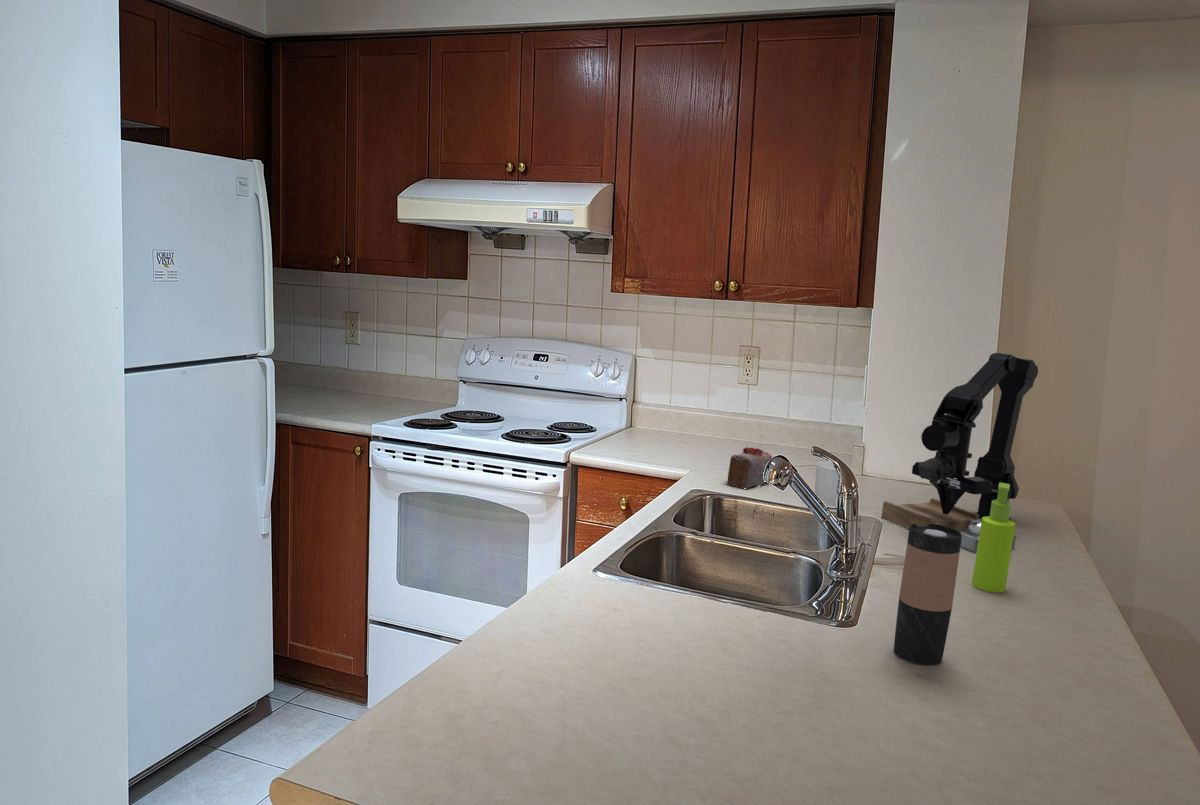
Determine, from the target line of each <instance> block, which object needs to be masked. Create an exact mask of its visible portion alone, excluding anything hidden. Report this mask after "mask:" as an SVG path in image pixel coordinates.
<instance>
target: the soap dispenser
mask: <svg viewBox="0 0 1200 805" xmlns="http://www.w3.org/2000/svg"><path fill="white" fill-rule="evenodd" d="M1009 488H1010V484H1007V483H1001V482H999V486H998V497H997V499H996V500H994V501H992V503H991V510H990V516H986V517H982V518H981V520H980V521H981V527H980V534H979V540H978V547H977V553H975V562H974V568H973V574H972V581H971V585H972V586H973V587H974V588H976V589H978V590H980V591H984V592H989V593H995V594H996V593H1004V592H1005V591H1006V587H1007V586H1006V585H1007V579H1008V574H1009V567H1010V562H1011V561H1010V560H1011V555H1012V550H1013V549H1012V544H1013V537H1014V535H1015V530H1016V522H1015V521H1012V519H1011V520H1009V518H1010V516H1011V515H1010V514H1011V509H1012V504H1011V503H1010V502H1008V501H1007V497H1008V491H1009Z"/></svg>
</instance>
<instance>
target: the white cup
mask: <svg viewBox="0 0 1200 805" xmlns="http://www.w3.org/2000/svg"><path fill="white" fill-rule="evenodd" d="M831 462H832V461H819V462H816V465H815V466H816V467H815V468H816V469H815V470H816V471H815V478H814V480H815V482H814V494H815V493H816V495H817V496H818V497H819V498H820V499H821V500H822V501H823V502H824V503H825V504H826V505H827V506H828V505H830V506H831V505H832V506H835V507H836V498H837V492H836V491H837V483H838V473H837V471H836V469H835V468H834V466H833V464H832V463H831ZM847 466H848V467H849V468H850V466H849V465H847Z"/></svg>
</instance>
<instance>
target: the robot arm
mask: <svg viewBox="0 0 1200 805" xmlns="http://www.w3.org/2000/svg"><path fill="white" fill-rule="evenodd" d="M1038 373H1039V367H1038V365H1036V363H1035V361H1034V360H1033V359H1028V358H1022V357H1021V358H1020V357H1016V356H1015V355H1013V354H1009V353H1003V352H1002V353H1001V352H995V353H991V354H990V356H989V358H988V360H987V361H986V363H984V365H983V366H982V367H981V368H980V369H979V370H978V371H977V372H976V373H975V374H974V375H973V376H972V377H971V378H970V379H969V380H968V382H966V383H964V384H961V385H957V386H955V387H954V388H952V389H951V390H949V391H948V392H947V393H946V394H945V395H944V396H943V398H942V400H941V401H940V404H939V406H938V408H937V409H936V412H935V413H934V415H933V417H932V420H931V424H930V425H928V426H926V427H925V428H924V429H923V431H922V432H921V435H920V436H921V437H920V438H921V439H920V440H921V442H922V445H923V446H924V447H925V449H927V450H929V451H930V452H936V453H935V455H934V457H932V458H928V459H926V460H924V461H915V463H914V464H913V465H912V468H911V474H912V475H915V476H918V477H920V478H921V479H925V480H927V481H929V483H930V484H931V485H933V486H934V488H935V489H936V491H937V494H938V497H939V501H940V503H941V507H942V512H943V514H949V513H950V511H951V510H952V508H953V507H954V506H956V505H957V503H958V502H959V500H960V499H961V498H962V496H963V495H965V493H968V494H971V495H980V498H979V501H978V507H977V511H975V512H973V513H975V514H978V515H979V518H980V519H982V517H986V516H990V510H991V503H992V501H994V500H996V499H997V497H998V486H999V482H1001V483H1007V484H1010V488H1009V491H1008V497H1007V501H1008V502H1009V501H1010V499H1013V500H1014V499H1015V500H1016V498H1017V496H1018V494H1019V489H1020V487H1019V485H1018V483H1017V480H1016V478H1015V469H1016V468H1015V464H1014V462H1013V459H1012V456H1011V452H1012V448H1013V444H1014V438H1015V434H1016V431H1017V430H1016V429H1017V424H1018V420H1019V416H1020V412H1021V407H1022V403H1023V402H1022V401H1023V398H1024V396H1025V395H1026V394H1027V393H1028V392H1029V391H1031V389H1032V388H1033V387H1034V383H1035V380H1036V379H1037V377H1038ZM997 385H998V387H999V391H1000V398H999V402H998V406H997V412H996V415H995V421H994V425H993V430H992V434H991V439H990V444H989V449H988V451H987V452H986V453H985V454H984V455H983V456H980V457H979V458H978V459H977V464H976V468H975V470H974V476H970V471H969V470H966V469H967V463H968V459H972V456H973V453H970V452H969V450H970V444H971V436H972V430H973V428H976V427H977V425H976V422H975V420H976V418H978V416H979V415H980V414H981V412H982V409H983V408H984V399H985V397H986V396H987V395H989V393H990V392H991V391H992V390H994V388H995V387H996V386H997ZM1009 503H1010V502H1009ZM1009 520H1011V521H1012V518H1011V517H1009Z"/></svg>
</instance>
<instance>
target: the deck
mask: <svg viewBox="0 0 1200 805" xmlns="http://www.w3.org/2000/svg"><path fill="white" fill-rule="evenodd" d="M929 499H930V500H929V502H920V503H919V502H916V503H905V504H901V503H900V504H894V503H892V502H889V501H883V503H882V510H881V519H883V520H886V521H888V522H891V523H893V524H895V525H897V526H900V527H902V528H905V529H907V530H909V528H910V525H911V524H914V523H915V524H916V525H917V526H927V525H928V524H934V523H939V524H941V525H944V526H947V527H950V528H953V529H955V530H957V531H959V532H961V531H967V529H968V526H969V523H970V520H974V521H977V520H979V519H980V517H979V515H978V514H975V513H974V512H973V511H969V510H966V509H963V508H961V507H959V506H956V505H955V506H954V507H953V508H952V510H951V511H950V513H949V514H943V512H942V507H941V503H940V499H936V498H934V497H933V498H929Z"/></svg>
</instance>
